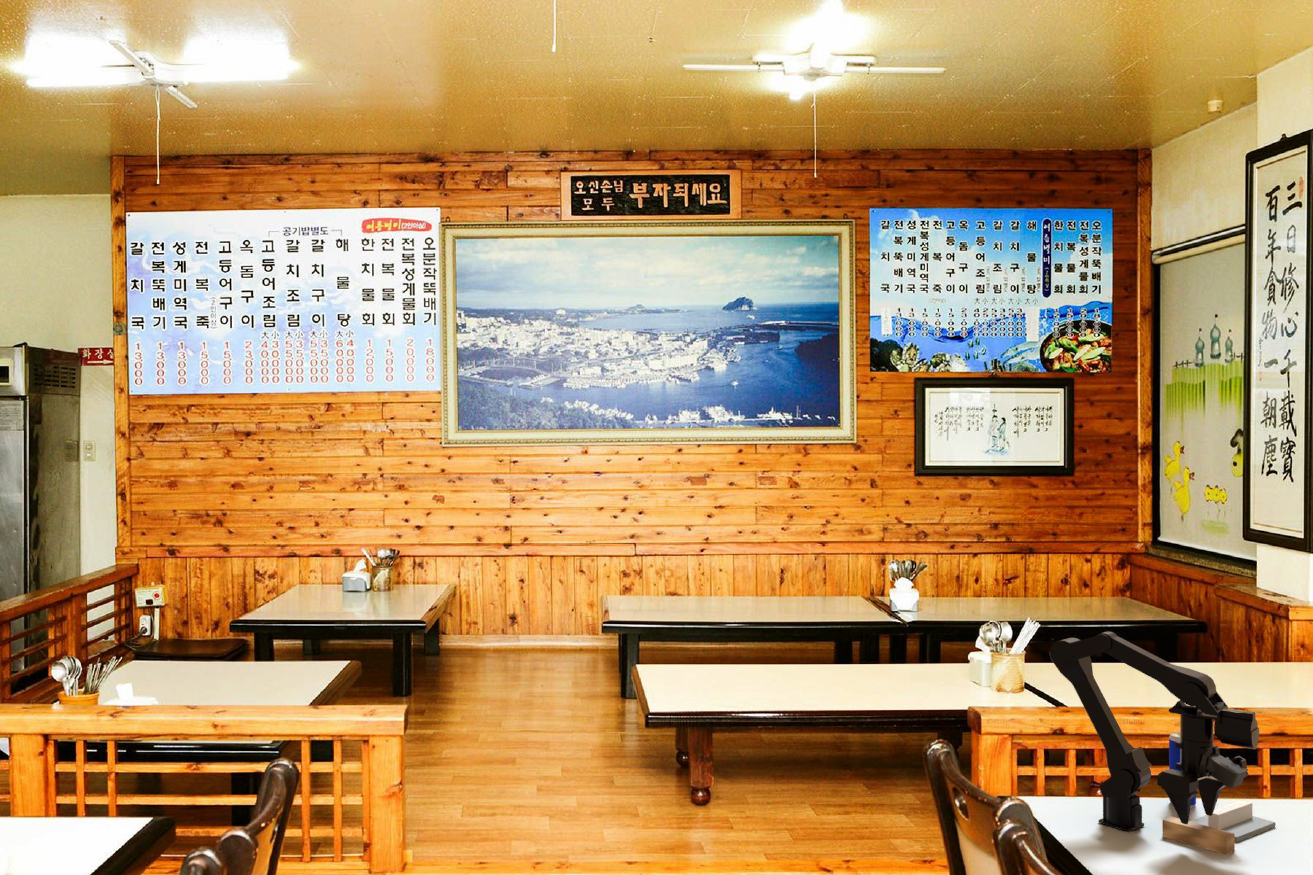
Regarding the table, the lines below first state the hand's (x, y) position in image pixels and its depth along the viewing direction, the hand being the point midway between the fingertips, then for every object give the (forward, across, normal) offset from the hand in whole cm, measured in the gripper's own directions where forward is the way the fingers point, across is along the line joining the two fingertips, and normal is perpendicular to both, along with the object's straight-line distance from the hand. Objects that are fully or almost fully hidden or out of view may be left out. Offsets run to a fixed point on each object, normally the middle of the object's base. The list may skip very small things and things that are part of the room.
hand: (1197, 819), depth 196 cm
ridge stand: (+4, +15, +1) cm, 16 cm away
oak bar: (+5, 0, 0) cm, 5 cm away
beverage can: (+5, +21, +14) cm, 26 cm away
